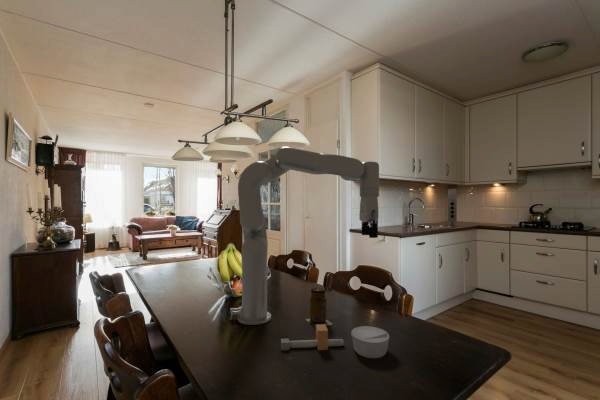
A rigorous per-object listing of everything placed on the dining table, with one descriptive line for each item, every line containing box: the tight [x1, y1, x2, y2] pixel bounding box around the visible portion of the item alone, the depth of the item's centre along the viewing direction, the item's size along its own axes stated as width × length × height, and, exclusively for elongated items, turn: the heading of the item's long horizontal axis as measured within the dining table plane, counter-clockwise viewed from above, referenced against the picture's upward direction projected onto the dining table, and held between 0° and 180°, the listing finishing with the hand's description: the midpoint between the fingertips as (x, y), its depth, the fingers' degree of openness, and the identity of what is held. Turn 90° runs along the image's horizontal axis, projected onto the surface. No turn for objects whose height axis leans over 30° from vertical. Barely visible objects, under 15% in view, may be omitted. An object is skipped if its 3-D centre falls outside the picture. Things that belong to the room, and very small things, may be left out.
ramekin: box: [350, 325, 390, 359], centre depth 90 cm, size 11×11×5 cm
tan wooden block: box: [315, 324, 329, 351], centre depth 93 cm, size 3×5×6 cm, turn 5°
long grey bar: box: [280, 338, 345, 351], centre depth 93 cm, size 20×3×2 cm, turn 95°
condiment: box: [304, 287, 333, 328], centre depth 112 cm, size 7×8×12 cm
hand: (369, 236), depth 119 cm, fingers open, 9 cm apart
